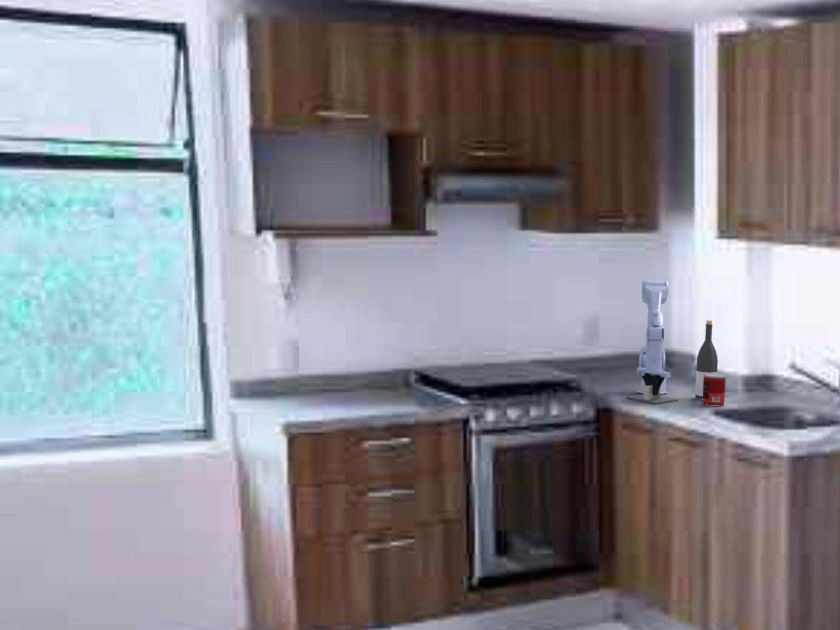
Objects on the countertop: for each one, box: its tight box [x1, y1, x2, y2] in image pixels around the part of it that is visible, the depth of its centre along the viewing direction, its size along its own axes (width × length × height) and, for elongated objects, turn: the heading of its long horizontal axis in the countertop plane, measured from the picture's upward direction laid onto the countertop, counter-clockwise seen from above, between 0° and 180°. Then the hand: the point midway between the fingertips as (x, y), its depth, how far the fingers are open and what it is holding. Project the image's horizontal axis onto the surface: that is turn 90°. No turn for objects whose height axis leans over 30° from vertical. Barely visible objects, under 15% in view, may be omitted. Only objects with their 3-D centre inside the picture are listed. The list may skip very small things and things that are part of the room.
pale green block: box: [643, 385, 661, 400], centre depth 380 cm, size 7×2×5 cm, turn 127°
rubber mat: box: [625, 394, 679, 405], centre depth 382 cm, size 13×14×1 cm
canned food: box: [702, 373, 727, 406], centre depth 375 cm, size 8×8×11 cm
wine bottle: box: [694, 319, 719, 400], centre depth 386 cm, size 8×8×30 cm
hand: (652, 394), depth 381 cm, fingers closed on pale green block, 2 cm apart
